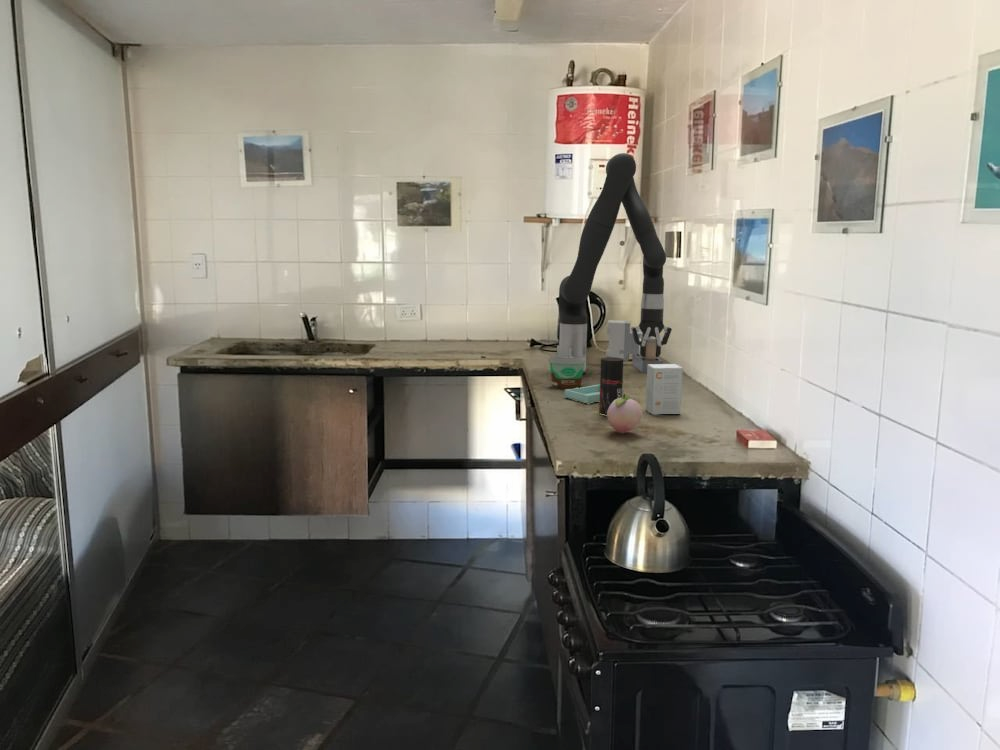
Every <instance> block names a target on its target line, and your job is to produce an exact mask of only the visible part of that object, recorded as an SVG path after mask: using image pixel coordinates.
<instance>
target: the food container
mask: <svg viewBox="0 0 1000 750" xmlns="http://www.w3.org/2000/svg"><path fill="white" fill-rule="evenodd" d="M547 362H548V363H549V366H550V380H551V381H550V382H551V387H552V386H553V387H552V388H555V387H557V388H556V389H560V388H576V387H580V386H581V387H582V382H583V381H582V378H583V374H582V373H583V366H584V363H585V362H586V363H587V357H586V358H585V355H584V354H583V356H581V357H571V356H564V357H557V356H554V355H549V357H548V359H547Z"/></svg>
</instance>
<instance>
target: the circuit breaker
mask: <svg viewBox="0 0 1000 750" xmlns="http://www.w3.org/2000/svg"><path fill="white" fill-rule="evenodd" d="M637 334H638V338H639V341H640V336H642V334H643V333H642V331H641V330H639V332H638V333H637ZM606 335H607V336H608V347H607V348H606V350H605V357H615V358H622V359H623V362H628V361H630V355H632V354H639V345H638V344H636V343H635V341H634V337H633V334H632V330H631V320H620V319H619V320H616V319H614V320H613V319H609V320H608V321H607V326H606Z"/></svg>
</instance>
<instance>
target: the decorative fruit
mask: <svg viewBox="0 0 1000 750" xmlns="http://www.w3.org/2000/svg"><path fill="white" fill-rule="evenodd" d="M606 417H607V421H608V423H609V424H610V426H611V427H612V428H613V429H614V430H615V431H616V432H617V433H620V434H621V433H624V434H625V433H627V432H630V431H631V430H633V429H634V428H636V427H637V426H638V425H639V424H640V423H641V420H642V417H643V411H642V407H641V405H640V404H639V403H638V402H637V401H636V400H634V399H633V398H632V397H631V396H626V394H625V393H623V397H621V398H618V399H616V400H614V401H613V402H612V403H611V405H610V406H609V408H608V411H607V416H606Z"/></svg>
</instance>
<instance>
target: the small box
mask: <svg viewBox="0 0 1000 750" xmlns="http://www.w3.org/2000/svg"><path fill="white" fill-rule="evenodd" d="M683 369H684V367H682V366H681V365H679V364H676V363H663V364H648V365H647V373H646V391H645V394H646V397H645V411H646V410H647V411H649V412H650V413H651V414H680V415H681V413H682V412H681V411H682V410H681V406H682V394H683V393H682V390H683V388H682V387H683V372H684V371H683ZM647 411H646V412H647ZM649 412H648V413H649ZM650 413H649V414H650ZM651 414H650V415H651Z"/></svg>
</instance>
